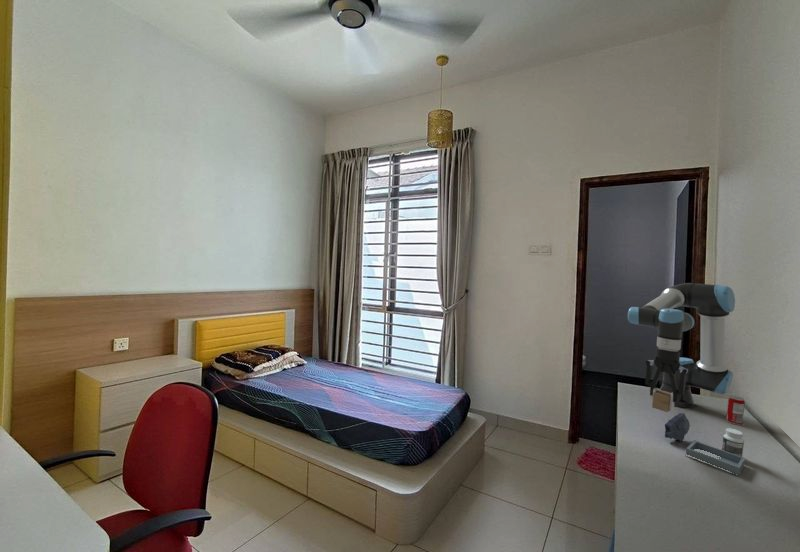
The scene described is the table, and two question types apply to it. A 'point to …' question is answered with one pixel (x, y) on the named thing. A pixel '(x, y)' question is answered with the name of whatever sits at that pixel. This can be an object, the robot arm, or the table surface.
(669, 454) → the table surface
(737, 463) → the tray
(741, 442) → the pill bottle
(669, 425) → the stone
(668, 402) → the brown cube
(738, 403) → the soda can
